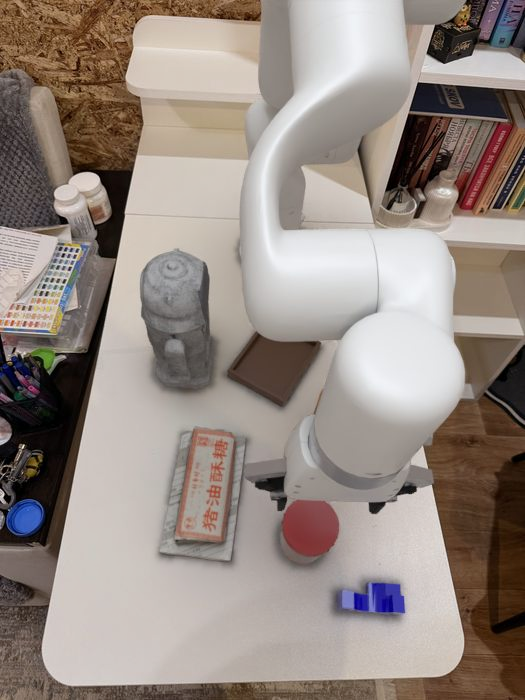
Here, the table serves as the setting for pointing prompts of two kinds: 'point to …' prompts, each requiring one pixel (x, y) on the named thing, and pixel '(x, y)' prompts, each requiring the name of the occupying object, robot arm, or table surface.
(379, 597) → the cable holder
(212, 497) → the packaged product
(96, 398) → the table surface
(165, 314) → the figurine
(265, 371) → the tray
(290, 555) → the jar
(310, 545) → the lid
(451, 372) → the robot arm
